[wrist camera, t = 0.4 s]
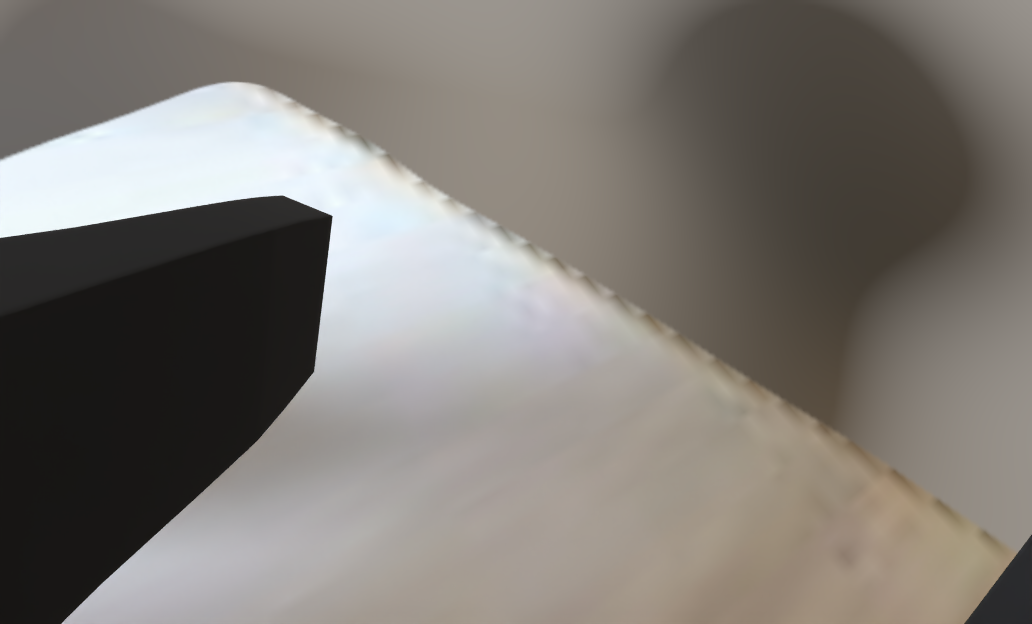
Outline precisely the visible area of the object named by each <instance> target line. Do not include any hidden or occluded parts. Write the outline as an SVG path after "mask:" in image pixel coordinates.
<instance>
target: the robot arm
mask: <svg viewBox="0 0 1032 624" xmlns="http://www.w3.org/2000/svg"><path fill="white" fill-rule="evenodd" d="M331 224H332V216H331V215H329V214H326V213H324V212H321V211H319V210H317V209H314V208H312V207H309V206H307V205H304V204H302V203H300V202H297V201H295V200H292V199H290V198H287V197H285V196H268V197H257V198H248V199H241V200H234V201H227V202H221V203H214V204H208V205H202V206H196V207H190V208H185V209H179V210H173V211H167V212H162V213H156V214H150V215H144V216H139V217H133V218H127V219H121V220H115V221H110V222H104V223H98V224H92V225H87V226H81V227H74V228H68V229H61V230H54V231H47V232H40V233H32V234H25V235H18V236H11V237H4V238H0V624H62V622H63V621H64V620H65V619H66V618H67V617H68V616H69V615H70V614H71V613H72V612H73V611H74V610H75V609H76V608H77V607H78V606H79V605H80V604H81V603H82V602H83V601H84V600H85V599H86V598H87V597H88V596H89V595H90V594H92V593H93V592H94V591H95V590H96V589H97V588H98V587H99V586H100V585H101V584H102V583H103V582H104V581H105V580H106V579H107V578H108V577H109V576H110V575H112V574H113V573H114V572H115V571H116V570H117V569H118V568H119V567H120V566H121V565H123V564H124V563H125V562H126V561H127V560H128V559H129V558H130V557H131V556H132V555H134V554H135V553H136V552H137V551H138V550H139V549H140V548H141V547H142V546H143V545H145V544H146V543H147V542H148V541H149V540H150V539H151V538H152V537H153V536H154V535H156V534H157V533H158V532H159V531H160V530H161V529H162V528H163V527H164V526H165V525H166V524H168V523H169V522H170V521H171V520H172V519H173V518H174V517H175V516H176V515H177V514H179V513H180V512H181V511H182V510H183V509H184V508H185V507H186V506H187V505H188V504H190V503H191V502H192V501H193V500H194V499H195V498H196V497H197V496H198V495H199V494H201V493H202V492H203V491H204V490H205V489H206V488H207V487H208V486H209V485H210V484H211V483H213V482H214V481H215V480H216V479H217V478H218V477H219V476H220V475H221V474H222V473H223V472H224V471H225V470H227V469H228V468H229V467H230V466H231V465H232V464H233V463H234V462H235V461H236V460H237V459H238V458H239V457H241V456H242V455H243V454H244V453H245V452H246V451H247V450H248V449H249V448H250V447H251V446H252V445H253V444H254V443H255V442H256V441H257V440H258V439H259V438H260V437H261V436H262V435H263V433H264V432H265V431H266V430H267V429H268V428H269V426H270V425H271V424H272V423H273V422H274V421H275V419H276V418H277V417H278V416H279V415H280V414H281V412H282V411H283V410H284V409H285V408H286V406H287V405H288V404H289V403H290V401H291V400H292V399H293V398H294V396H295V395H296V394H297V393H298V391H299V390H300V389H301V387H302V386H303V385H304V384H305V382H306V381H307V380H308V379H309V377H310V376H311V375H312V374H313V372H314V367H315V359H316V350H317V342H318V334H319V325H320V317H321V308H322V300H323V292H324V283H325V275H326V266H327V258H328V250H329V241H330V233H331ZM965 624H1032V535H1031V536H1030V538H1029V539H1028V540H1027V542H1026V543H1025V544H1024V546H1023V547H1022V548H1021V550H1020V551H1019V552H1018V554H1017V555H1016V556H1015V558H1014V559H1013V560H1012V562H1011V563H1010V564H1009V565H1008V567H1007V568H1006V569H1005V571H1004V572H1003V573H1002V575H1001V576H1000V577H999V579H998V580H997V581H996V583H995V584H994V585H993V587H992V588H991V589H990V591H989V592H988V593H987V595H986V596H985V597H984V599H983V600H982V601H981V603H980V604H979V605H978V607H977V608H976V609H975V611H974V612H973V613H972V614H971V616H970V617H969V618H968V620H967V621H966V622H965Z"/></svg>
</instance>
